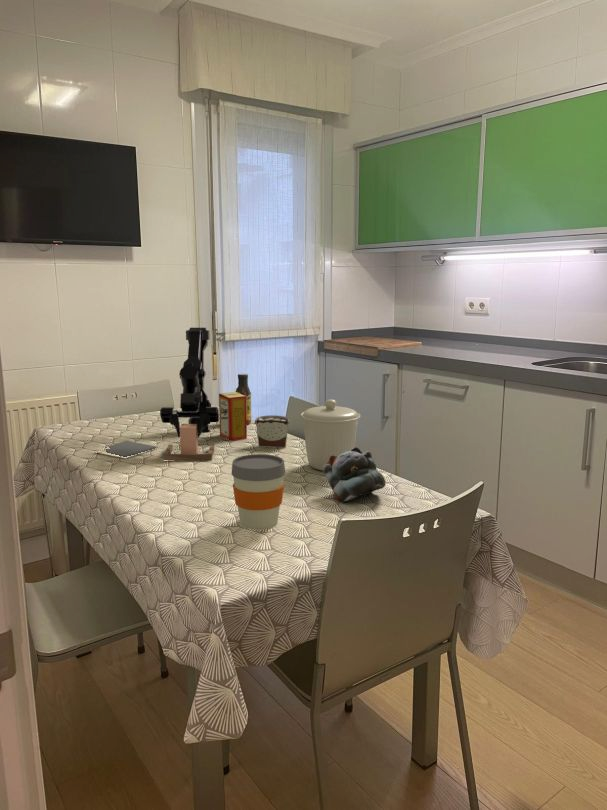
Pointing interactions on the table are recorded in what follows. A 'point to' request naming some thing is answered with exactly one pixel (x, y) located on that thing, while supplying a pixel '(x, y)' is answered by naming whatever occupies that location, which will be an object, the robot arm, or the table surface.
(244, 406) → the baking soda box
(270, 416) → the food container
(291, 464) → the table surface
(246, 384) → the sauce bottle
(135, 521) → the table surface
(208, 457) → the walnut bay
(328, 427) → the canister
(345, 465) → the grey stuffed animal
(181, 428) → the terracotta block
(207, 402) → the robot arm
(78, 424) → the table surface
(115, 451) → the rubber mat
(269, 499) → the reusable coffee cup
